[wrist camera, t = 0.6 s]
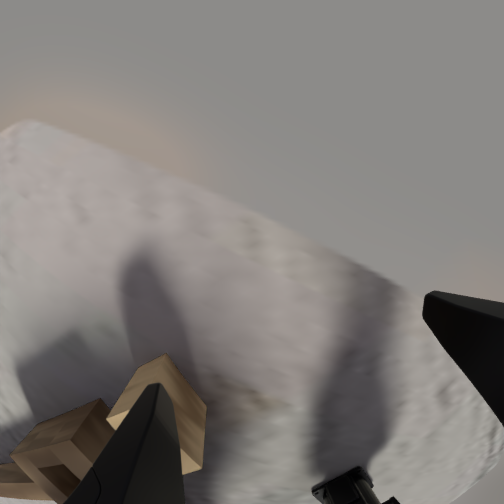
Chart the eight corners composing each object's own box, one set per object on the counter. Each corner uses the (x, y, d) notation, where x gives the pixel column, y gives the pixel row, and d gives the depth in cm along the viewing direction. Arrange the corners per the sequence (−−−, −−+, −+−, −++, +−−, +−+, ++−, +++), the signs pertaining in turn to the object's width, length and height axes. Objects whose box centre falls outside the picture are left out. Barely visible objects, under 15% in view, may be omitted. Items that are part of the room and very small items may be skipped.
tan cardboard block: (206, 406, 22) (202, 468, 14) (174, 420, 21) (160, 480, 13) (166, 353, 21) (141, 404, 13) (134, 369, 21) (100, 421, 13)
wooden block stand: (176, 477, 21) (169, 524, 15) (29, 496, 19) (15, 518, 12) (100, 398, 20) (69, 440, 14) (-18, 442, 18) (-38, 462, 11)
